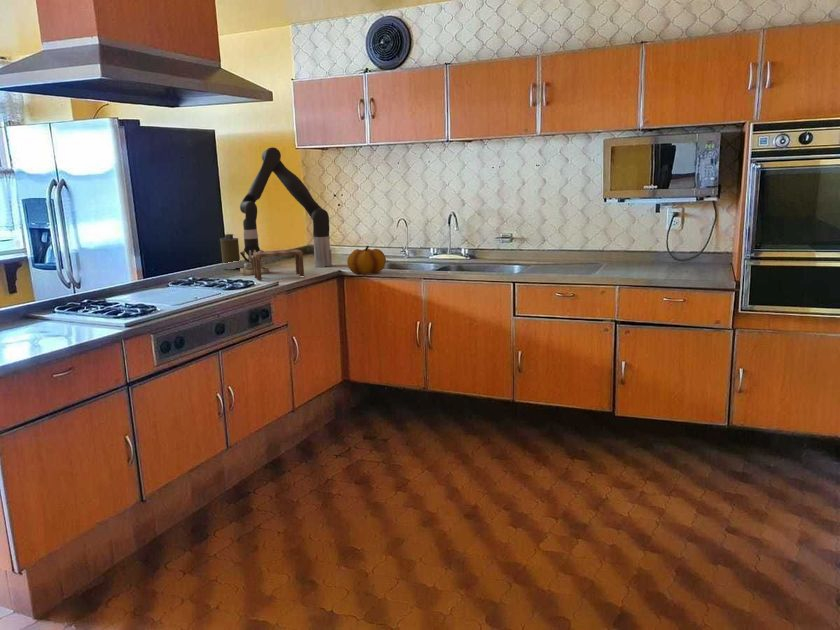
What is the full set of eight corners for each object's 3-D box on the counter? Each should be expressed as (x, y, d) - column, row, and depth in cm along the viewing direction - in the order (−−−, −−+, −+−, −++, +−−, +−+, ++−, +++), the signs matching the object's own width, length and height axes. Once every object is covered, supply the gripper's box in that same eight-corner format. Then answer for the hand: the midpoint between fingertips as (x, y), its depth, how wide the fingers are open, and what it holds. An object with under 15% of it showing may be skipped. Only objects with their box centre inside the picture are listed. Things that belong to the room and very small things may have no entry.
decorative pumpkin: (387, 269, 364) (386, 242, 361) (384, 276, 342) (383, 247, 339) (350, 270, 364) (349, 243, 361) (345, 277, 343) (344, 248, 340)
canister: (244, 267, 389) (241, 233, 385) (234, 270, 379) (231, 235, 375) (228, 267, 393) (225, 233, 388) (218, 269, 383) (215, 235, 379)
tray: (263, 268, 384) (262, 254, 382) (268, 273, 363) (267, 258, 361) (238, 270, 379) (237, 256, 377) (242, 275, 358) (241, 260, 356)
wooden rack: (299, 273, 358) (298, 249, 355) (304, 276, 347) (302, 251, 344) (254, 277, 349) (252, 252, 347) (257, 280, 338) (255, 254, 336)
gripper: (262, 236, 370) (265, 267, 374) (237, 237, 365) (240, 268, 369) (264, 237, 363) (266, 268, 367) (238, 239, 358) (241, 270, 362)
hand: (253, 268), depth 368 cm, fingers closed on tray
